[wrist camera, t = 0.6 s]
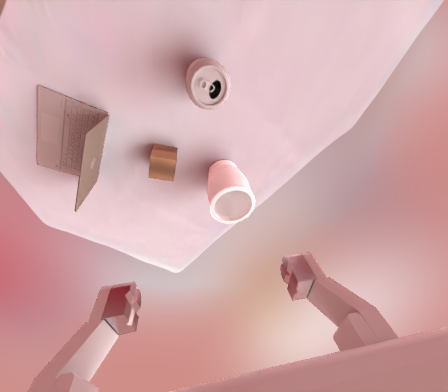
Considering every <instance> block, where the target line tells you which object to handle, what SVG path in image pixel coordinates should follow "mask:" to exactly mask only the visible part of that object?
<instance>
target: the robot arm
mask: <svg viewBox="0 0 448 392" xmlns="http://www.w3.org/2000/svg"><path fill="white" fill-rule="evenodd" d="M282 261H283V264H282V265H281V269H280V270H281V275H282V278H283V280H284V282H285V283H287V284H288V288H287V289H288V292H289V294H290V296H291V298H292V300H299V299H305V298H307V299H308V300H309V301H310V302H311V303H312V304H313V305H314V306H316V307H317V308H318V309H319V310H320V311H321V312H322V313H323V314H324V315H326V316H327V317H328V318H329V319H330V320H331V321H332V322H333V323H334V324H336V326H338V327H339V328H338V329H337V331H336V332H335V334H334V336H333V338H334V340H335V342H336V344H337V346H338V348H339V350H340V352H335V353H331V354H327V355H323V356H319V357H314V358H310V359H306V360H301V361H297V362H293V363H289V364H284V365H280V366H276V367H271V368H267V369H263V370H259V371H254V372H250V373H246V374H241V375H237V376H233V377H228V378H224V379H220V380H215V381H211V382H207V383H203V384H198V385H194V386H190V387H185V388H181V389H177V390H172V391H168V392H448V326H447V327H443V328H439V329H434V330H430V331H426V332H421V333H417V334H413V335H409V336H404V337H400V338H399V337H398V336H397V335H396V334H395V332H394V331H393V330H392V328H391V327H390V326H389V324H388V323H387V322H386V320H385V319H384V318H383V316H382V315H381V314H380V313H379V311H378V310H377V309H376V307H374V306H373V305H371V304H369V303H368V302H366V301H365V300H363V299H362V298H360V297H359V296H357V295H356V294H354V293H353V292H351V291H350V290H348V289H347V288H345V287H344V286H342V285H341V284H339V283H337V282H336V281H334V280H333V279H331V278H330V277H326V276H325V274H324V273H323V271H322V269H321V268H320V266H319V265H318V263H317V262H316V260H315V259H314V257H313V256H312V254H311V253H310V252H306V253H298V254H293V255H288V256H284V257H283V258H282ZM140 306H141V294H140V291H139V290H138V289H136V284H135V282H129V283H124V284H117V285H110V286H104V287H102V288H101V290H100V291H99V294H98V297H97V299H96V302H95V305H94V308H93V311H92V313H91V316H90V319H89V322H86V323H84V324H83V326H82V327H81V328H80V329H79V330H78V331H77V332H76V334H75V335H74V336H73V337H72V338H71V339H70V340H69V341H68V342H67V343H66V344H65V345H64V347H63V348H62V349H61V350H60V351H59V352H58V353H57V354H56V355H55V356H54V358H53V359H52V360H51V361H50V362H49V363H48V364H47V365H46V366H45V367H44V369H43V370H42V371H41V372H40V373H39V374H38V375H37V376H36V377H35V379H34V380H33V382H32V384H31V387H30V389H29V391H28V392H99V389H98V387H97V386H95V385H93V384H92V383H90V382H89V381H90V380H91V378H92V376H93V375H94V374H95V372H96V370H97V369H98V367H99V366H100V364H101V363H102V361H103V360H104V358H105V356H106V355H107V353H108V352H109V350H110V349H111V347H112V346H113V344H114V342H115V341H116V340H117V338H118V335H122V334H126V333H130V332H135V331H136V329H137V323H138V315H137V311H138V310H139V309H140Z"/></svg>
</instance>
